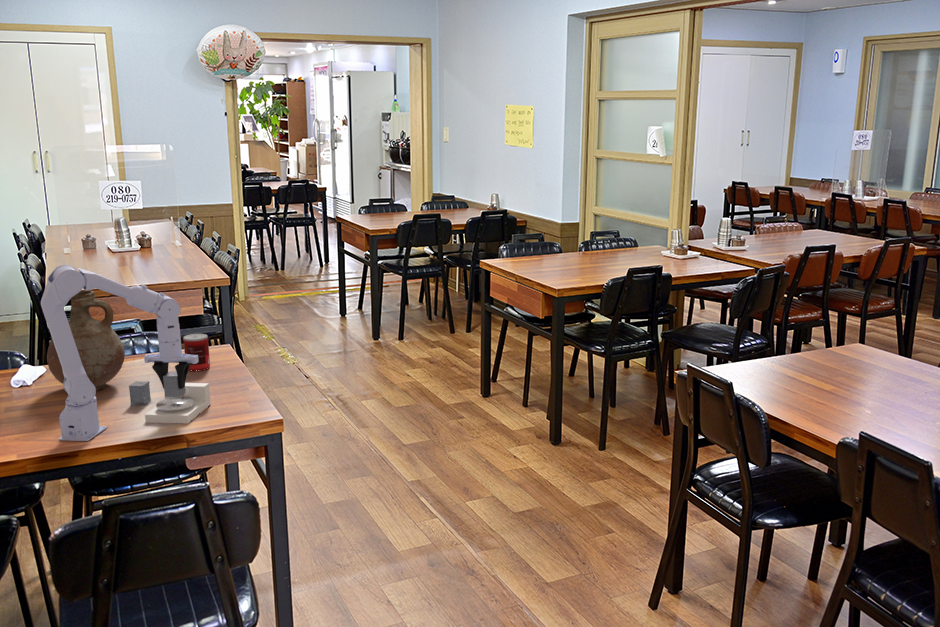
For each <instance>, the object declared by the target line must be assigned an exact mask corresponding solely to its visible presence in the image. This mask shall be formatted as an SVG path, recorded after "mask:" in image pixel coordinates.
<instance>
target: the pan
mask: <svg viewBox="0 0 940 627" xmlns="http://www.w3.org/2000/svg"><path fill="white" fill-rule="evenodd" d="M194 404H195V400H194V399H193V398H190V397H173V398H168V399H165V398H164V399H161V400H159V401H158V402H157V403H156V404H155V405H156V406H155V407H157V409H159V410H163V411H175V410H182V409H186V408H189V407H191V406H192V405H194Z"/></svg>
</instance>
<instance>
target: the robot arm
mask: <svg viewBox="0 0 940 627" xmlns="http://www.w3.org/2000/svg"><path fill="white" fill-rule="evenodd" d="M46 280H47V281H46V285H45V287H44V291H43V293H42V296H41V300H40V306H41V309H42V313H43V315H44V319H45V321H46V324H47V327H48V330H49V333H50V336H51V340H52V339H53V342H54V345H55V348H56V351H57V354H58V357H59V360H60V363H61V366H62V369H63V374H64V383H63V384H62V385H63V390H64V391H65V392H66V393H67V397H66V399H65V407H64V409H63V410H62V411H61V412H60V414H59V427H60V435H61V436H60V437H58V440H59V441H66V442H67V441H68V442H69V441H71V442H72V441H73V442H74V441H78V442H88V441H90V440H91V439H93V438H94V437H96V436H98V435H99V434H101V432H103V431H105V430H106V429H107V428H108V426H106V425H100V420H99V418H100V417H99V411H98V403H97V402H98V401H97V396H96V394H97V393H96V392H97V390H96V389H95V386H94V385H93V384H92V383H91V382H90V380H89V378H88V377H87V375H86V372H85V370H84V368H83V365H82V362H81V359H80V356H79V353H78V350H77V347H76V344H75V341H74V338H73V335H72V332H71V329H70V326H69V323H68V322H69V321H68V318H67V314H66V312H65V307H66V305H67V304H68V302H69V301H71V299H70V298H72V297H73V296H74V295H76V294H77V293H79V292H80V291H83V290H86V291H88V290H91V291H93V290H94V289H96V290H100V291H102V292H106V293H109V294H111V295H114V296H117V297H119V298H120V297H121V298H123V299H125V301H126V303H127V305H128V306H131V307H134V308H136V309H139V310H141V311H144V312H147V313H150V314H155V316H156V330H157V339H158V340H157V342H158V351H159V352H158V353H154V354H153V353H152V354H150V353H149V354H145V355H144V356H143V359H144V363H145V364H149V363H153V365H151V368H152V370H153V371H154V372H155V373H156V375H157V376H158V379H159V382H160V383H161V385H162V388H163V389H164V382H163V376H164V375H165V374H167V373H169V363H171V364H172V363H173V364H176V365H174V368H175V372H177V376H178V384H179V389H183V388H184V387H185V383H186V381H187V376H188V373H189V368H190V365H191V363H192V364H196V363H198V362H199V360H198V355H190V354H185V353H183V351H182V350H183V349H182V339H181V329H180V327H181V326H180V323H179V322H180V321H179V316H180V313H181V310H182V309H181V307H180V305H179V303H178V301H177V300H175V299H174V298H172V297H170V296H168V295H167V294H164V293H163V292H161V291H160V292H156V291H154V290H151V289H149V288H148V286H147V285H145V284H141V285H139V284H135V285H132V286H128V285H125V284H123V283H119V282H117V281H116V280H113V279H111V278H108V277H106V276H103V275H101V274H99V273H96V272H94V271H89V270H87V269H83V268H79V267H77V268H75V267H73V266H71V265H70V264H69V265H68V264H62V265H58V266H56V267H55V268H54V270H53V271H52V272H51V273H50V274H48V276H47V279H46ZM163 389H162V390H163Z"/></svg>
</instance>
